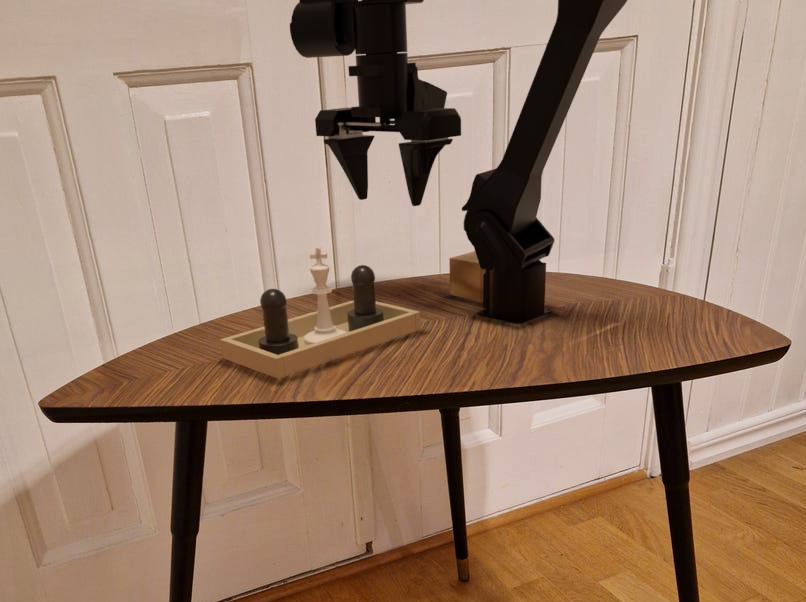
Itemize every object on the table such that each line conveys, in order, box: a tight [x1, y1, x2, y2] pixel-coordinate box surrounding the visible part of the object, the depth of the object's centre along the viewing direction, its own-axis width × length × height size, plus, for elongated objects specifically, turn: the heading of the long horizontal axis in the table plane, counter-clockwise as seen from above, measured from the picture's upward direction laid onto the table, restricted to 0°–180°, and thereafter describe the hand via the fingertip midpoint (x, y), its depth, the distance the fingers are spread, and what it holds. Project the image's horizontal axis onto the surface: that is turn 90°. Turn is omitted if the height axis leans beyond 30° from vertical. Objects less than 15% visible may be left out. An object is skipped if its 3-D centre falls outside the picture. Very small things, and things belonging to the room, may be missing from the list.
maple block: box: [449, 250, 486, 302], centre depth 101 cm, size 5×5×5 cm
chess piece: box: [303, 246, 347, 346], centre depth 84 cm, size 5×5×10 cm
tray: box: [219, 299, 422, 380], centre depth 86 cm, size 20×10×2 cm, turn 134°
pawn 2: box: [347, 264, 384, 332], centre depth 88 cm, size 4×4×7 cm
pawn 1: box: [258, 288, 299, 355], centre depth 81 cm, size 4×4×7 cm
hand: (389, 202), depth 96 cm, fingers open, 9 cm apart
